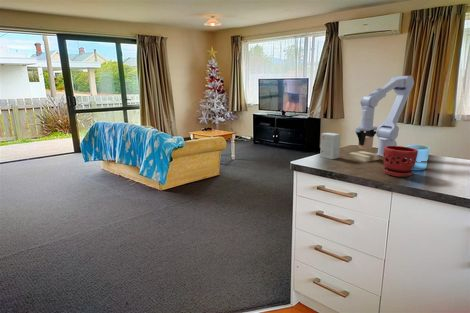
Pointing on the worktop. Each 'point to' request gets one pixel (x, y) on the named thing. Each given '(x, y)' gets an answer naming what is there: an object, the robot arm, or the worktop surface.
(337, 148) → the small box
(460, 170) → the worktop surface
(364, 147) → the clay block
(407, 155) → the plant pot
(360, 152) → the beige shallow dish
